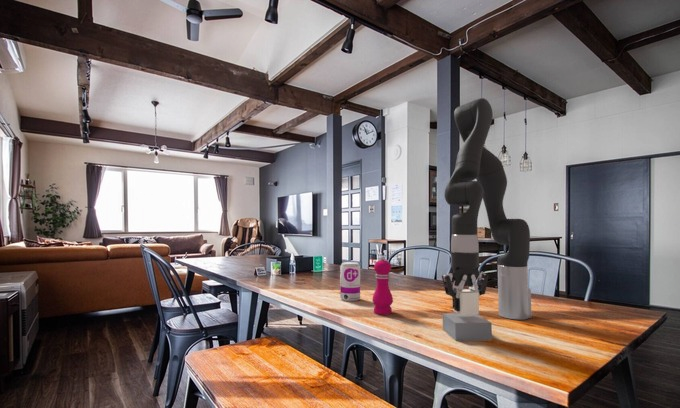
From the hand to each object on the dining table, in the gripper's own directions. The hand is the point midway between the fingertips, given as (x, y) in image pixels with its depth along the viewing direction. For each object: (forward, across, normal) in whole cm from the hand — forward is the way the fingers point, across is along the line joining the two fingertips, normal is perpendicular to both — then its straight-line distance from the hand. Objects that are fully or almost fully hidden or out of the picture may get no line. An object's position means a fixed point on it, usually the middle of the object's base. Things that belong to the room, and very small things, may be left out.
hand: (465, 310), depth 99 cm
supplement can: (+7, +21, -51) cm, 56 cm away
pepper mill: (+7, +15, -28) cm, 33 cm away
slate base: (+7, 0, 0) cm, 7 cm away
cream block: (+1, 0, 0) cm, 1 cm away
